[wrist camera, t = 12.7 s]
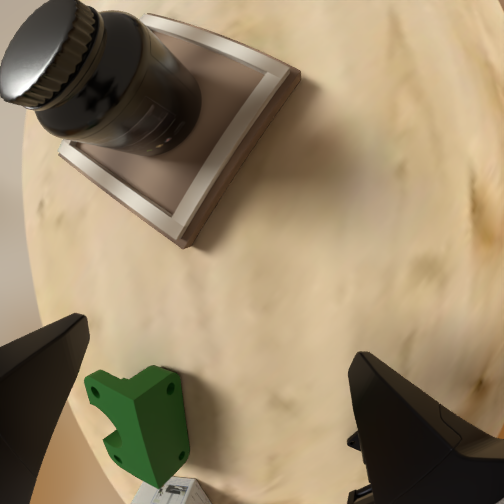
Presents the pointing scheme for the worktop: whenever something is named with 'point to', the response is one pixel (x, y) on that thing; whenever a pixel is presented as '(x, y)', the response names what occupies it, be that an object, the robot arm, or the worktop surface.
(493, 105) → the worktop surface
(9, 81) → the supplement bottle
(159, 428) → the clamp
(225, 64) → the beige square tray
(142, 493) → the light bulb box
